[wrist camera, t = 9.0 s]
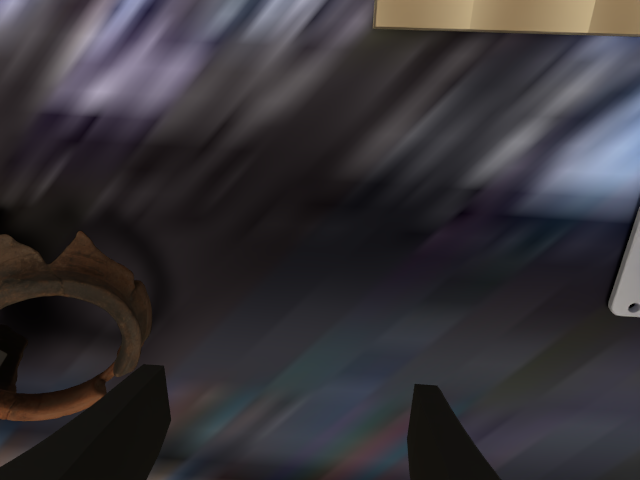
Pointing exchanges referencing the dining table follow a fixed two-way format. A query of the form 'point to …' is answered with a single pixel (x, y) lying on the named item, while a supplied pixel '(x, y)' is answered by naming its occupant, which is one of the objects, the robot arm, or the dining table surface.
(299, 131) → the dining table surface
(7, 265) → the pottery mug
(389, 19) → the bore block
